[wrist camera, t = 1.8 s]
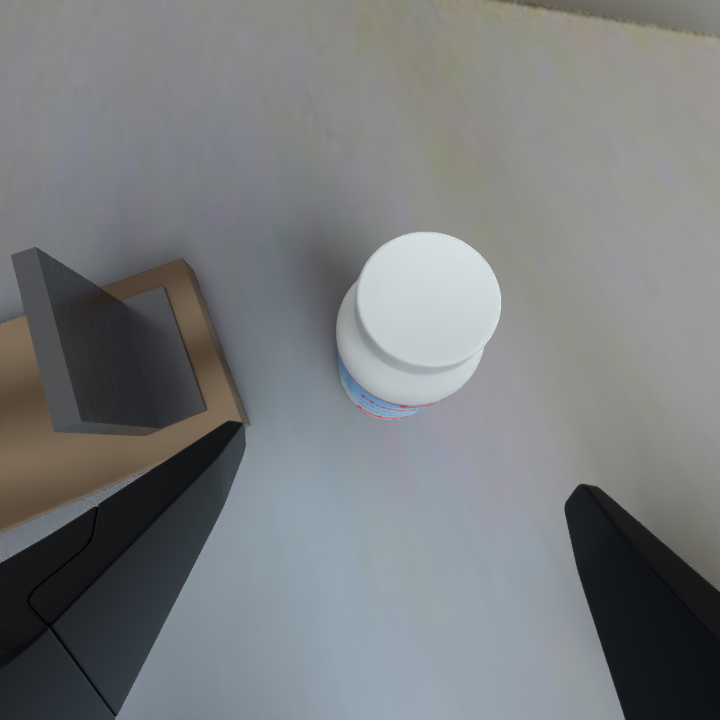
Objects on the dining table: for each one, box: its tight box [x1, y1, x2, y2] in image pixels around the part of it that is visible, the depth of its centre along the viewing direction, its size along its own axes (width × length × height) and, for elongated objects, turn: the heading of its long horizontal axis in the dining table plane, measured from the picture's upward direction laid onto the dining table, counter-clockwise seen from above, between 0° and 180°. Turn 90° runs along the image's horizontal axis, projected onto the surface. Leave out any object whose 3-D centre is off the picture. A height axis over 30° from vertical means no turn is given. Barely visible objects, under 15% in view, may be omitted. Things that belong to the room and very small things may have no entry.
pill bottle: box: [336, 232, 501, 420], centre depth 16 cm, size 6×6×11 cm
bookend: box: [11, 247, 208, 436], centre depth 17 cm, size 8×4×6 cm, turn 24°
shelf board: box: [0, 258, 250, 534], centre depth 20 cm, size 11×20×2 cm, turn 114°
